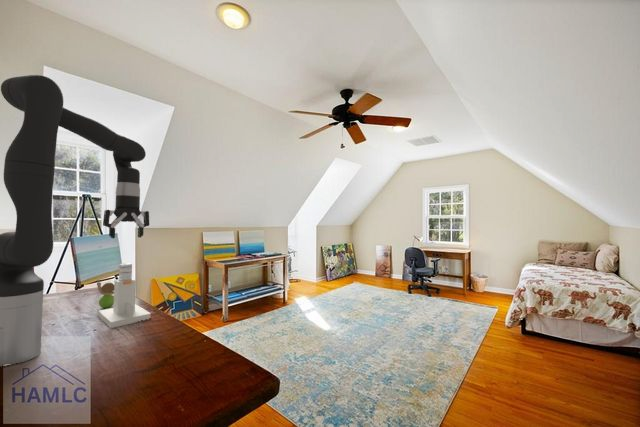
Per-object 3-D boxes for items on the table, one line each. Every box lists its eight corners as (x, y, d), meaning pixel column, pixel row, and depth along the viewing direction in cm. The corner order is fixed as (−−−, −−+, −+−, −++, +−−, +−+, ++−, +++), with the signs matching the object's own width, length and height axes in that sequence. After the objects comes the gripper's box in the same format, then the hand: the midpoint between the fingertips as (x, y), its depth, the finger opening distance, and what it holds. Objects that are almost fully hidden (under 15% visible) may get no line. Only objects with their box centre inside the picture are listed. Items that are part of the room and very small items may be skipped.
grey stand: (150, 318, 101) (151, 280, 101) (110, 328, 91) (112, 286, 92) (134, 308, 112) (135, 274, 112) (97, 315, 103) (99, 278, 103)
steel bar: (130, 309, 102) (132, 264, 103) (120, 311, 99) (121, 264, 100) (128, 307, 104) (129, 263, 105) (117, 309, 102) (119, 264, 102)
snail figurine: (97, 307, 113) (99, 278, 114) (116, 305, 116) (117, 277, 116) (93, 311, 108) (94, 280, 109) (113, 309, 111) (114, 279, 111)
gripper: (107, 193, 95) (105, 239, 95) (152, 196, 106) (151, 237, 106) (102, 194, 100) (100, 238, 100) (145, 197, 111) (144, 236, 110)
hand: (126, 237), depth 103 cm, fingers open, 8 cm apart
